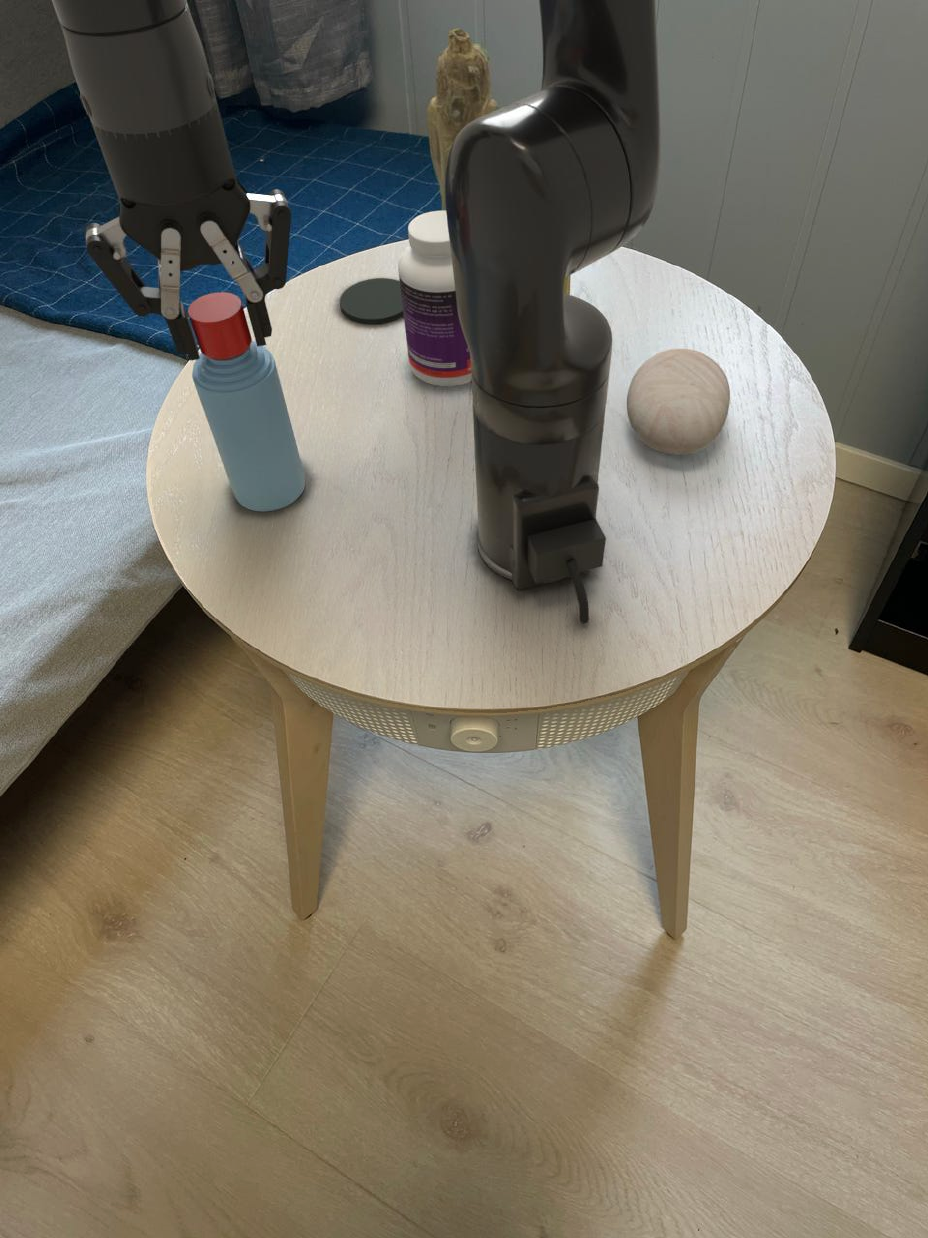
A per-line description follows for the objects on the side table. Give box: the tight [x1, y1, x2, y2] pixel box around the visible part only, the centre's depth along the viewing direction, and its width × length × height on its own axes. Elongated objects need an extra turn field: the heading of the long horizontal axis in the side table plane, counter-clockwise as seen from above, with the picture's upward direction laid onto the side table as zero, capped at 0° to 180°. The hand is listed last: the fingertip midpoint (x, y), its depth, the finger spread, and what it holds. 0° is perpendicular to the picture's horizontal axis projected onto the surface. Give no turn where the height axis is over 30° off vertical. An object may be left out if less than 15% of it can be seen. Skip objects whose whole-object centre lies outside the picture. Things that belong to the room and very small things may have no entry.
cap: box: [187, 291, 253, 359], centre depth 63 cm, size 4×4×3 cm
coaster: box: [339, 277, 404, 325], centre depth 93 cm, size 8×8×1 cm
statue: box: [426, 27, 500, 211], centre depth 84 cm, size 7×8×25 cm
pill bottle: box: [397, 210, 472, 387], centre depth 80 cm, size 8×8×14 cm
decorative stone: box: [626, 348, 731, 455], centre depth 76 cm, size 13×9×5 cm
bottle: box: [191, 340, 307, 512], centre depth 69 cm, size 6×6×17 cm
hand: (226, 346), depth 64 cm, fingers open, 4 cm apart
